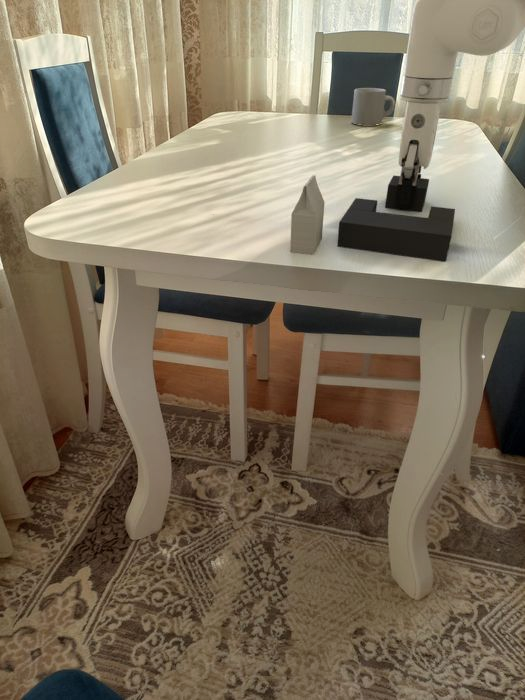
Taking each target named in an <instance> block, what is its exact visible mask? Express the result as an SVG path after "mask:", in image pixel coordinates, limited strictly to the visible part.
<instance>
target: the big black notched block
mask: <svg viewBox="0 0 525 700" xmlns="http://www.w3.org/2000/svg"><path fill="white" fill-rule="evenodd" d="M377 206H378V200H377V199H368V198H359V197H355V198H354V200H353V201H352V203H351V205H349V208H348V209H347V210H346V212H344V214H343V216H342V217H341V219H340V220H339V223H338V231H337V233H338V234H337V242H336V243H337V244H336V247H338V248H345V249H346V248H347V249H352V250H353V249H354V250H359V251H368V252H375V253H382V254H390V255H394V256H395V255H396V256H403V257H410V258H418V259H424V260H431V261H439V262H447V258H448V254H449V249H450V245H451V240H452V234H453V230H454V229H453V228H454V222H455V213H456V208H450V207H442V206H441V207H440V206H430V210H429V213H428V216H427V217H422V216H414V215H406V214H397V213H387V212H379V211H377Z"/></svg>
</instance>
